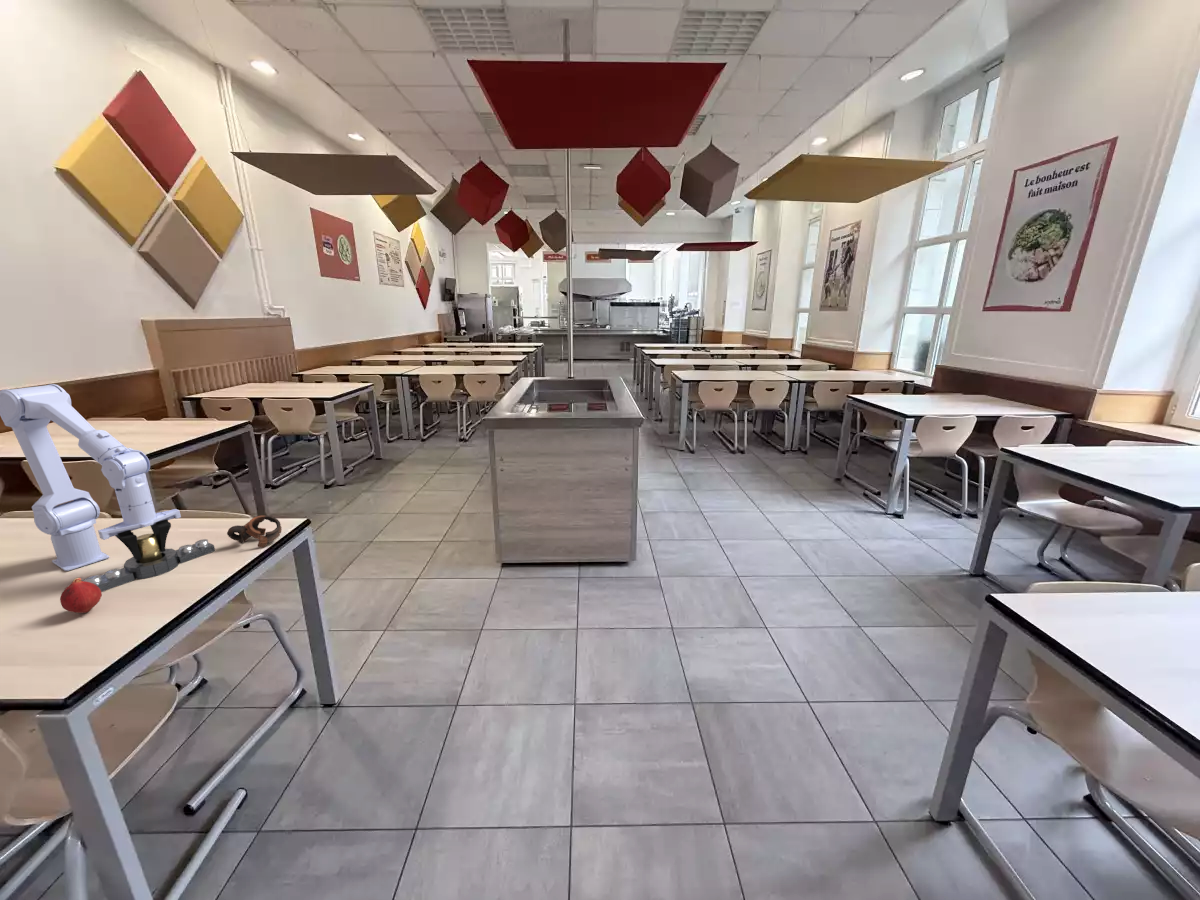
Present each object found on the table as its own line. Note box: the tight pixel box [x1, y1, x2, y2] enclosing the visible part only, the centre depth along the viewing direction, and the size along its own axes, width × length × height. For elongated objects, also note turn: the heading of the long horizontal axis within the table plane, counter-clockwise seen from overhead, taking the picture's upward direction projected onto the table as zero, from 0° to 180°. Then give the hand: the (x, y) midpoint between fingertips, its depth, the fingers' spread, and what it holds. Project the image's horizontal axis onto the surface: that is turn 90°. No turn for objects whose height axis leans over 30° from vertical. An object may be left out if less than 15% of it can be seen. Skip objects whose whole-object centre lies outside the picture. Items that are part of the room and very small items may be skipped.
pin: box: [137, 533, 162, 563], centre depth 118 cm, size 4×4×7 cm
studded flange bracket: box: [83, 538, 216, 593], centre depth 119 cm, size 9×24×3 cm, turn 152°
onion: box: [59, 577, 103, 614], centre depth 101 cm, size 6×6×8 cm
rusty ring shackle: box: [226, 514, 282, 548], centre depth 132 cm, size 12×9×8 cm
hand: (150, 554), depth 118 cm, fingers closed on pin, 4 cm apart
